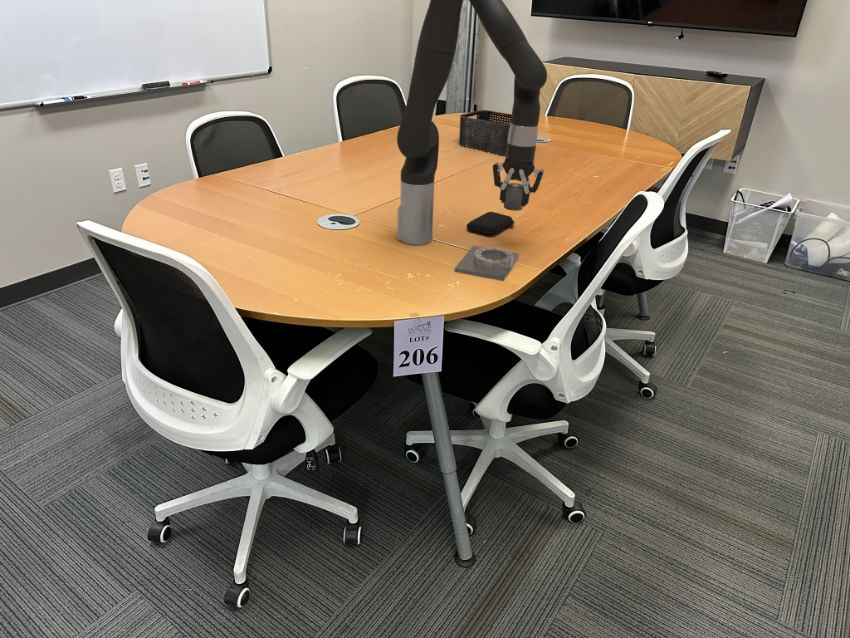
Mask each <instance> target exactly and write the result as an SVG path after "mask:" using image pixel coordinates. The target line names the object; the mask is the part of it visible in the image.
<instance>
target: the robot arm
mask: <svg viewBox="0 0 850 638" xmlns="http://www.w3.org/2000/svg"><path fill="white" fill-rule="evenodd" d="M429 1H430V2H429V4H428V8H427V11H426V13H425V17H424V20H423V23H422V26H421V30H420V34H419V37H418V41H417V45H416V46H417V47H416V50H415V55H414V56H415V57H414V63H413V68H412V74H411V78H410V83H409V84H410V85H409V90H408V96H407V100H406V105H405V108H404V112H403V115H402V118H401V121H400V124H399V127H398V131H397V136H396V143H397V147H398V150H399V152H400V153H401V154H402V155H403V156H404V157H405V161H404V163H403V166H402V168H401V170H400V205H399V206H398V207H397V241H401V242H403V243H405V244H407V245H413V246H415V245H416V246H419V245H420V246H421V245H426V244H428V243H430V242H432V241H433V228H434V227H433V225H434V204H435V203H434V201H435V177H436V172H437V169H438V164H439V163H438V162H439V152H440V151H439V150H440V149H439V148H440V134H439V129H438V127H437V125H436V123H435V122H434V121H433V115H434V112H435V109H436V105H437V103H438V100H439V98H440V96H441V94H442V92H443V90H444V88H445V86H446V83H448V82H447V81H448V79H449V77H450V74H451V70H452V67H453V63H454V60H455V54H456V51H457V44H458V39H459V34H460V33H459V31H460V22H461V12H462V7H463V3H464V0H429ZM468 1H469V3H470V5H471V6H472V8H473V9H474V11H475V13H476V16H477V17H478V19H479V22H480V24H481V25H482V27H483V28H484V30H485V32H486V34H487V36H488V37H489V38H490V41H491V42H492V43H493V45H494V47H495V48H496V50H497V51H498V53H499V54H500V55H501V57H502V59H504V61H506V63H507V65H508V66H509V68H510V70H511V72H512V73H513V75H514V81H513V83H514V84H513V104H512V109H511V110H512V111H511V114H512V117H511V116H510V117H511V124H510V123H509V124H510V128H509V133H508V141H507V149H506V156H505V159H504V160H503V161H504V162H501V163H499V162H495V163H494V164H493V165H492V174H493V175H492V176H493V184H494V186H495V187H498V188H499V189H500V193H499V201H501V203H502V204H504V200H505V192H506V186H507V184H509V183H510V181H511V180H512V181H518V182H521V184H522V185H523V187H524V191H525V193H524V194H523V202H522V206H523V208H524V207H526V206H527V205H528V203H529V201H530V197H531V194H532V193H533V194H535V193H536V192H537V190H538V189H539V187H540V184H541V181H542V179H543V176H544V174H545V170H544V169H541V168H540V169H539V168H536V166H535V164H534V163H535V156H536V148H537V143H538V135H539V132H538V131H539V122H540V115H541V102H540V94H541V89H542V88H543V87H544V86H545V84H546V83H547V80H548V71H547V67H546V66H545V64H544V63H543V61H542V60H541V58H540V57H539V56H538V54H537V53H536V51H535V50H534V49H533V47H532V46H531V44H530V43H529V41H528V39H527V37H526V36H525V34H524V31H523V30H522V28H521V27H520V24H519V23H518V22H517V20H516V18H515V16H514V15H513V14H512V12H511V11H510V10H509V8H508V7H507V5H506V4H505V2H504V1H503V0H468ZM502 169H503V170H504V172H505V174H506V176H505V177H504V180H503V181H502V179H501V171H502ZM532 173H534V175H533V176H534V177H535V179H534V184H533V186H531V183H530V182H531V181H530V175H532Z"/></svg>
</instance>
